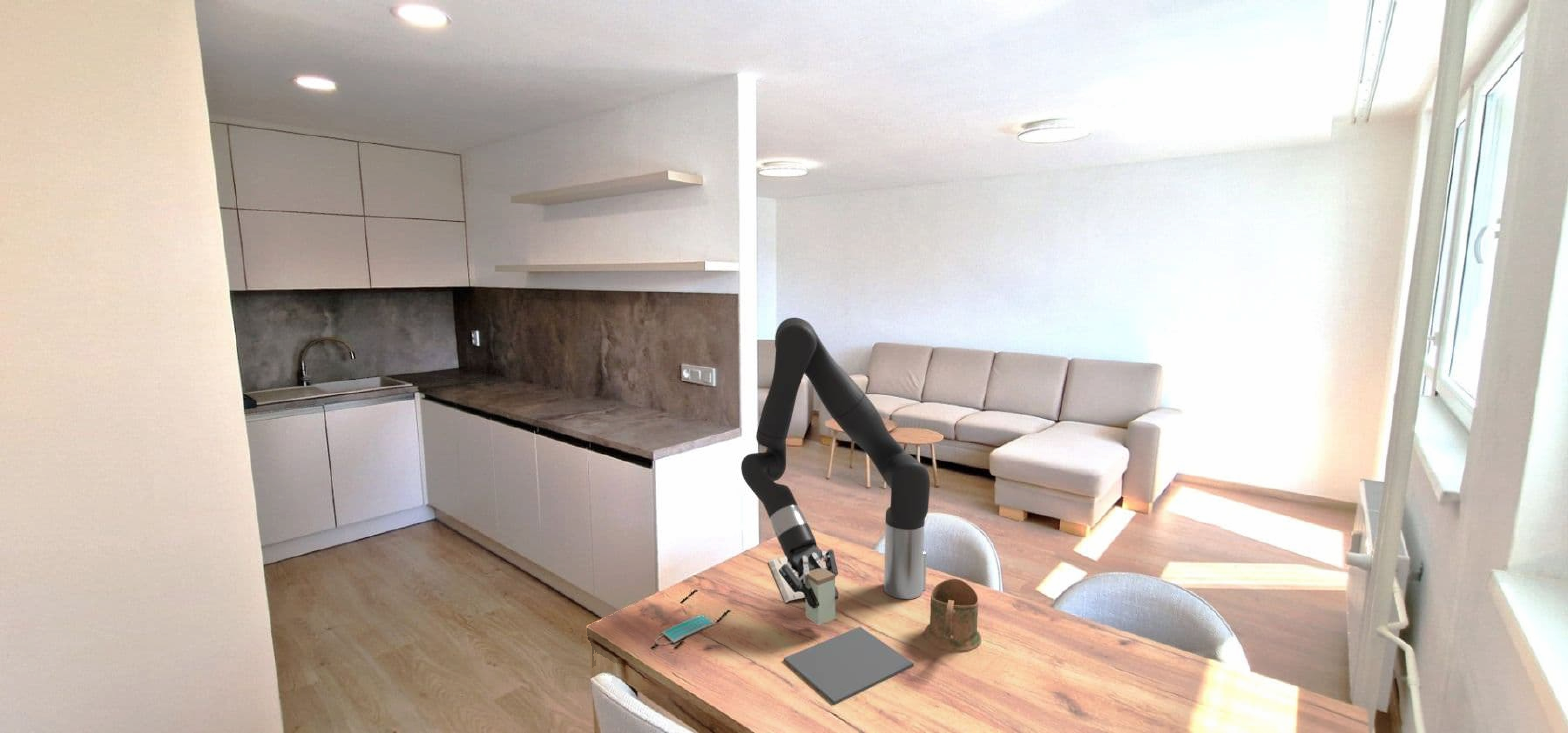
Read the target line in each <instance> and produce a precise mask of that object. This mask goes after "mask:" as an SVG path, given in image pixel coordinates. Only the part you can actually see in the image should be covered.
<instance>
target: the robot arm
mask: <svg viewBox="0 0 1568 733" xmlns="http://www.w3.org/2000/svg"><path fill="white" fill-rule="evenodd" d="M774 346H775V357H774V359H775V360H774V368H773V369H774V370H773V375H772V380H771V384H770V388H769V390H768V393H767V396H766V398H765V401H764V404H763V407H762V410H761V413H760V419H759V421H758V427H757V430H756V436H755V438H756V441H757V443H758V444H759V445H760V446H762V447H765V448H766V450H765V452H755V453H748V454H746V455H745V456H744V458H743V459H742V460H741V463H740V464H741V466H740V468H741V475H742V478H743V479H744V482H745V483H746V484H747V486H748V487H749V488H750V489H751V491H752V492H753V493H754V495H756V497H757V498H758V499H759V501H760V502H761V503H762V505H763V506H764V508H765V511H766V514H767V516H768V519H769V520H770V523H771V527H772V530H773V531H774V534H775V536H776V538H777V541H778V543H779V546H780V548H781V550H782V552H783V553H784V554H783V555H784V557H787V564H784V565H783V566H782V567H781V568H780V569H779V573H780V574H781V576H782V577H783V578H784V579H785V581H786V582H787V583H788V585H789V586H790V587H791V589H792V590H793V591H794V592H803V593H804V595H805V597H804V598H805V601H806V600H807V602H808V604H809V606H810V607H811V606H812V608H813V609H815V608H817V607H818V606H819V602H818V600H817V598H816V596H815V593H814V591H813V589H812V588H810V587H811V585H810V582H809V580H808V573H810V572H809V571H811V570H814V569H817V568H821V569H823V568H825V569H826V570H828V571H830V572H831V573H833V574H835V578H836V577H837V576H838V575H839V570H838V567H837V562H836V558H835V553H834V550H833V549H828V550H821V548H819V546H818V545H817V542H816V538H815V535H814V534H813V532H812V529H811V527H810V525H809V523H808V521H807V519H806V517H805V515H804V513H803V511H802V510H801V508H800V507H799V505H798V503H797V500H796V499H795V496H794V494H793V492H792V490H791V489H790V488H789V487H788V485H785V484H781V483H777V481H779V480H780V479H781V478H782V477H783V475H784V474H785V472H786V468H787V445H786V444H787V437H788V434H789V430H790V426H791V422H792V418H793V415H794V414H793V413H794V408H795V406H796V405H795V404H796V401H797V396H798V391H799V389H800V385H801V383H802V380H803V377H804V375H806V377H807V378H808V380H809V382H810V383H811V385H812V386H813V388H814V390H815V392H816V394H817V397H819V399H820V401H821V403H822V404H823V406H824V407H825V409H826V410H827V412H828V413H829V415H830V416H831V417H832V419H833V421H835V422H836V423H837V425H838V426H839V427H840V428H841V429H842V431H843V432H844V433H845V434H846V435H847V436H848V437H849V439H851V440H852V441H853V442H854V443H855V444H856V445H858V447H860V449H861V450H863V451H864V452H865V453H866V455H867V456H868V457H869V459H870V460H871V462H872V463H873V464H874V465H875V467H876V469H877V470H878V472H879V474H880V476H881V477H882V479H883V480H884V482H885V483H886V485H887V486H888V487H889V489H890V491H891V492H890V493H891V494H890V506H889V507H888V508H887V509H886V512H885V524H884V525H885V526H884V529H885V530H884V532H885V533H884V535H885V536H884V537H885V538H884V568H883V569H884V571H883V572H884V574H883V577H884V578H883V581H884V583H883V590H884V592H885V593H886V594H887V595H889V596H891V597H894V598H897V599H901V600H911V599H915V598H918V597H921V595H922V594H923V593H924V592H923V591H925V590H926V580H927V579H926V578H927V556H928V555H927V552H926V551H925V524H926V523H925V522H926V517H927V515H928V514H929V513H928V512H929V505H930V504H929V503H930V502H929V501H930V490H931V489H930V488H931V486H930V485H931V482H930V474H929V470H928V469H927V468H926V466H924V465H923V464H922V462H920V461H919V460H917V459H916V458H915V457H914V456H912V455H911V454H910V453H909V452H908V451H906V450H905V449H904V448H903V447H902V446H901V445H900V443H898V441H897V440H896V439H895V437H893V436H892V435H891V433H890V432H889V430H888V428H887V426H886V425H885V423H884V420H883V419H882V417H881V414H880V412H879V411H878V409H877V408H876V407H875V405H874V404H873V402H872V400H870V398H869V397H868V396H867V395H866V394H865V393H864V391H863V390H862V389H861V388H860V386H859V385H858V384H857V383H856V382H855V380H854V379H852V377H851V376H850V375H849V374H848V373H847V372H846V371H845V370H844V368H842V367H841V366H840V365H839V364H838V363H837V361H835V359H834V358H833V357H832V356H831V354H830V353H829V351H828V350H827V348H826V346H825V345H824V344H823V342H822V341H821V339H820V338H819V335H818V334H817V332H816V330H815V329H814V327H813V326H812V325H811V323H809V322H808V321H807V320H805V319H802V318H800V317H788V318H786V319H784V320H782V321H781V323H780V324H779V326H778V327H777V328H776V331H775V337H774ZM775 481H776V482H775ZM822 559H823V560H822ZM824 562H825V563H824ZM792 569H794V570H795V571H796V572H797V576H798V578H797V577H796V576H795V574H794V573H793V572H792ZM838 599H839V590H838V588H837V587H836V585H835V601H837V600H838Z"/></svg>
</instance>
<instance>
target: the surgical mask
mask: <svg viewBox="0 0 1568 733" xmlns="http://www.w3.org/2000/svg"><path fill="white" fill-rule="evenodd" d="M698 591H699V590H698V589H694V590H693V591H691V592H690V594H688V595H687V596H686V597H685V598H682V600H681V601H680V602H679V603H680V604H682V605H683V603H685V602H686V601H687V600H689V599H690V598H691V597H692V596H693V595H694V594H695V593H697V592H698ZM681 608H682V609H683V611H684V613H685V614H687V611H686V610H685V609H684V607H683V606H681ZM731 611H732V610H730V609H727V610H726V611H724V612H723V614H722V615H721V616H720V617H718V618H719V619H718V618H716V620H715V621H712V619H710V618H709V617H708V616H706V615H704V614H701V615H699V616H700V617H696V616H695V617H693V618H689V619H688V620H685V621H682V622H681V623H678V624H676V625H673V626H672V627H669V628H667V629H666V630H663V631H661V632H660V633H661V635H660V636H657V638H656V639H655V643H654V645H652V646H651V647H650V649H653V650H654V649H656V647H658V646H661V643H660V642H658V641H657V640H658V639H659V638H661V637H663V636H664V637H665V638H667V639H668V640H670V641H669V642H665V643H662V646H663V645H667V644H670V643H674V644H675V643H676V642H678V644H677V645H675V646H674V649H677V650H678V649H679V647H680V646H682V644H684V643H685V641H684V640H685V638H687V637H690V636H692V635H693V634H696V633H698V632H701V631H703V630H705V629H706V628H709V627H711V626H713V625H715V624H716V623H719V622H721V621H722V619H723V618H725V616H728V613H731ZM703 616H706V617H703ZM707 617H708V618H707ZM702 629H703V630H702ZM700 630H701V631H700ZM679 641H680V642H679Z"/></svg>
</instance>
